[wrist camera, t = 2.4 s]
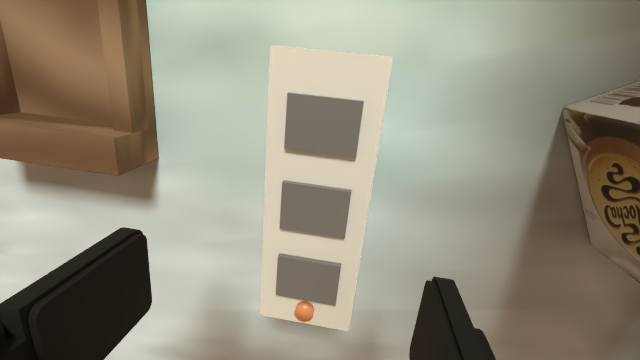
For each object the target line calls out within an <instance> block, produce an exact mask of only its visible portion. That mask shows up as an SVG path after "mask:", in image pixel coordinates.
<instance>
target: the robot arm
mask: <svg viewBox="0 0 640 360" xmlns="http://www.w3.org/2000/svg"><path fill="white" fill-rule="evenodd" d="M151 303H152V295H151V284H150V272H149V260H148V249H147V239H146V236H145V235H143V233H142V231H140V230H137V229H130V228H120V229H118V230H117V231H115V232H113V233H112V234H110V235H109V236H107V237H106V238H104V239H102V240H101V241H99V242H98V243H96V244H94V245H93V246H91V247H90V248H88V249H86V250H85V251H83V252H82V253H80V254H78V255H77V256H75V257H74V258H72V259H71V260H69V261H67V262H66V263H64V264H63V265H61V266H59V267H58V268H56V269H55V270H53V271H51V272H50V273H48V274H47V275H45V276H44V277H42V278H40V279H39V280H37V281H36V282H34V283H32V284H31V285H29V286H28V287H26V288H24V289H23V290H21V291H20V292H18V293H16V294H15V295H13V296H12V297H10V298H9V299H7V300H5V301H4V302H2V303H1V304H0V360H104V359H105V358H106V356H107V355H108V354H109V353H110V352H111V351H112V350H113V349H114V348H115V347H116V346H117V344H118V343H119V342H120V341H121V340H122V339H123V338H124V337H125V336H126V335H127V334H128V332H129V331H130V330H131V329H132V328H133V327H134V326H135V325H136V324H137V323H138V322H139V320H140V319H141V318H142V317H143V316H144V315H145V314H146V313H147V312H148V310H149V309H150V306H151ZM410 360H496V359H495V357H494V354H493V352H492V350H491V348H490V346H489V343H488V341H487V339H486V337H485V335H484V333H483V331H481V330H480V329H476V328H474V327H473V324H472V322H471V320H470V317H469V315H468V313H467V310H466V308H465V305H464V303H463V301H462V298H461V296H460V294H459V291H458V289H457V287H456V284H455V282H454V280H451V279H445V278H439V277H433V279H432V281H428V280H427V281H426V283H425V287H424V291H423V295H422V299H421V304H420V308H419V312H418V316H417V320H416V325H415V329H414V333H413V337H412V341H411V346H410Z"/></svg>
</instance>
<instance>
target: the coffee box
mask: <svg viewBox="0 0 640 360" xmlns="http://www.w3.org/2000/svg"><path fill="white" fill-rule="evenodd" d="M562 113H563V118H564V123H565V127H566V132H567V137H568V142H569V146H570V151H571V155H572V160H573V164H574V169H575V173H576V178H577V182H578V187H579V191H580V196H581V201H582V205H583V210H584V215H585V219H586V224H587V228H588V233H589V238H590V242H591V245H592V246H593V247H594V248H595V249H597V250H598V251H599V252H601V253H602V254H603V255H605V256H606V257H607V258H608V259H610V260H611V261H612V262H613V263H615V264H616V265H617V266H619V267H620V268H621V269H622V270H624V271H625V272H626V273H628V274H629V275H630V276H631V277H632V278H634V279H635V280H636V281H637V282H639V283H640V81H638V82H635V83H632V84H630V85H627V86H624V87H621V88H618V89H615V90H612V91H609V92H606V93H603V94H600V95H597V96H594V97H591V98H588V99H585V100H582V101H579V102H576V103H573V104H570V105H568V106H566V107H565V108H564V109H563V112H562Z"/></svg>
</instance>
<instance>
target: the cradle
mask: <svg viewBox="0 0 640 360" xmlns="http://www.w3.org/2000/svg"><path fill="white" fill-rule="evenodd" d="M0 158H2V159H9V160H16V161H23V162H29V163H36V164H43V165H50V166H57V167H63V168H70V169H77V170H84V171H91V172H97V173H104V174H111V175H118V176H119V175H121V174H123V173H125V172H128V171H130V170H132V169H135V168H137V167H139V166H142V165H144V164H146V163H148V162H151V161H153V160H155V159H158V146H157V134H156V122H155V109H154V97H153V85H152V73H151V60H150V48H149V36H148V24H147V12H146V0H0Z"/></svg>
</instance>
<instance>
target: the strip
mask: <svg viewBox="0 0 640 360" xmlns="http://www.w3.org/2000/svg"><path fill="white" fill-rule="evenodd" d="M392 62H393V57H391V56H380V55H370V54H360V53H350V52H339V51H329V50H319V49H309V48H298V47H288V46H278V45H270V64H269V90H268V116H267V142H266V168H265V194H264V220H263V246H262V272H261V298H260V315H263V316H268V317H274V318H279V319H284V320H290V321H295V322H300V323H306V324H311V325H316V326H322V327H327V328H332V329H338V330H343V331H348V332H349V328H350V321H351V315H352V309H353V303H354V297H355V291H356V284H357V278H358V272H359V266H360V260H361V254H362V247H363V241H364V235H365V229H366V223H367V216H368V210H369V204H370V198H371V192H372V186H373V179H374V173H375V167H376V161H377V155H378V148H379V142H380V136H381V130H382V124H383V118H384V111H385V105H386V99H387V93H388V87H389V81H390V74H391V68H392Z"/></svg>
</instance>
